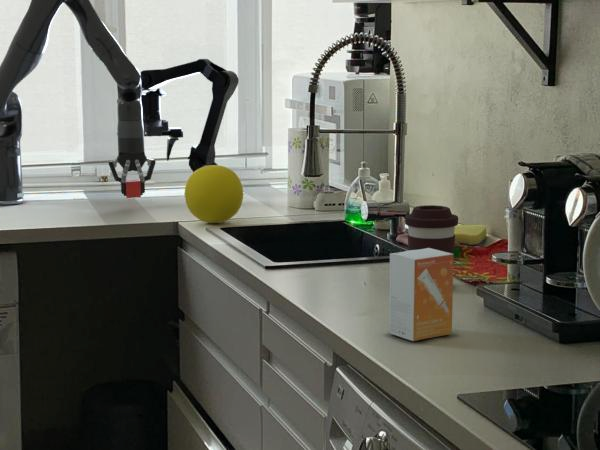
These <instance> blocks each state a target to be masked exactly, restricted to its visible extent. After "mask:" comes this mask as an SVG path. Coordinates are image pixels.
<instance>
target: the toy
mask: <svg viewBox="0 0 600 450" xmlns="http://www.w3.org/2000/svg"><path fill="white" fill-rule="evenodd" d="M184 199H185V203H186V204H185V205H186V206H187V209H188V210H189V212H190V213H191V214H192V216H194V218H196V219H197V220H199V221H202V222H205V223H209V224H217V223H218V224H219V223H223V222H226V221H228V220H230V219H232V218H234V217H235V216H236V214H237V213H238V212H239V211H240V209H241V206H242V205H243V200H244V189H243V184H242V181H241V180H240V178H239V176H238V175H237V174H236V172H234V170H232V169H230V168H229V167H226V166H223V165H218V164H217V165H209V166H204V167H201V168H199V169H197V170H196V171H195V172H193V171H192V174H190V176H189V177H188V179H187V181H186V184H185V188H184Z"/></svg>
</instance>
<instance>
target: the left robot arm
mask: <svg viewBox="0 0 600 450" xmlns="http://www.w3.org/2000/svg"><path fill="white" fill-rule="evenodd" d="M63 4H65V6H66V7H67V8H68V9H69V10H70V11H71V13H72V14H73V15H74V16H75V19H76V21H77V22H78V25H79V27H80V30H81V33H82V35H83V37H84V40H85V42H86V44H87V45H88V46H89V47H90V49H91V51H92V52H93V54H94V55H95V56H96V58H97V59H98V60H99V61H100V62H101V63H102V64H103V65H104V66H105V68H106V70H107V71H108V73H109V74H110V76H111V78H112V79H113V80H114V82H115V83H116V90H117V99H118V104H117V108H116V109H117V110H116V111H117V127H116V129H117V131H116V136H117V153H118V154H117V157H116V158H115V159H112V160H109V161H108V162H107V164H108V166H109V169H110V172H111V174H112V176H113V179H114V181H116V182H118V183H120V192H121V194H122V195H123V197H126V183H125V181H126V180H127V177H128V174H129V173H130V172H133V171H134V172H137V175H138V178H139V180H140V186H141V196H143V194H145V193H146V185H145V183H146V181H150V180H151V179H152V177H153V173H154V170H155V166H156V159H153V158H152V159H151V158H150V157H147V155H146V151H145V150H146V148H145V147H146V146H145V136H144V126H143V120H142V119H143V115H142V103H141V74H140V72H141V71H140V70H139V69H138V68H137V67H136V66H135V65H134V64H133V62H132V61H131V60H130V58H129V57H128V56H127V55H126V54H125V52H124V50H123V48H122V46H121V45H120V43H119V42H118V41H117V39H116V38H115V37H114V36H113V34H112V33H111V32H110V30H109V29H108V27H107V26H106V25H105V23H104V22H103V20H102V19H101V18H100V16H99V15H98V13H97V11H96V10H95V8H94V6H93V4H92V3H91V1H90V0H30V3H29V6H28V8H27V11H26V12H25V14H24V17H23V18H22V19H21V22H20V24H19V26H18V28H17V30H16V32H15V34H14V35H13V38H12V39H11V42H10V44H9V46H8V49H7V52H6V53H5V56H4V57H3V60H2V62H1V63H0V206H11V205H21V204H23V203H24V202H25V201H24V199H25V198H24V197H25V192H24V187H23V170H22V169H23V168H22V167H23V166H22V151H21V139H22V135H23V105H22V101H21V99H20V97H19V95H18V93H16V92H14V89H15V88H16V87H17V86H18V85H19V84H20V83H21V82H22V81H23V80H24V79H25V78H27V76H29V75H31V73H32V72H33V71H34V70H35V69H36V68H37V66H38V65H39V63H40V61H41V59H42V58H43V56H44V53H45V51H46V49H47V46H48V44H49V43H48V42H49V36H50V29H51V24H52V22H53V21H54V18H55V16H56V14H57V13H58V11H59V9H60V8H61V6H62V5H63ZM145 163H146V165H147V166H148V168H147V171H146V175H144V172H143V170H142V168H143V167H144V165H145ZM118 164H119V165H120V167H121V168H122V171H121V176H119V175H118V172H117V169H116V168H117V167H118ZM128 172H129V173H128Z"/></svg>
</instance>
